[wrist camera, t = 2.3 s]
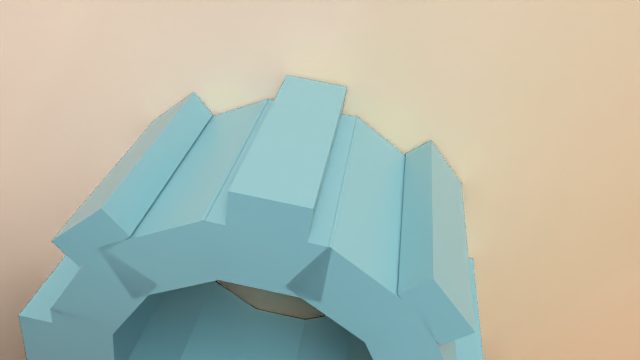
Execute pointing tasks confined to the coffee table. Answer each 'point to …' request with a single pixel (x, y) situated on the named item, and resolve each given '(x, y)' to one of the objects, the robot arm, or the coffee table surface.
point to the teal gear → (263, 243)
